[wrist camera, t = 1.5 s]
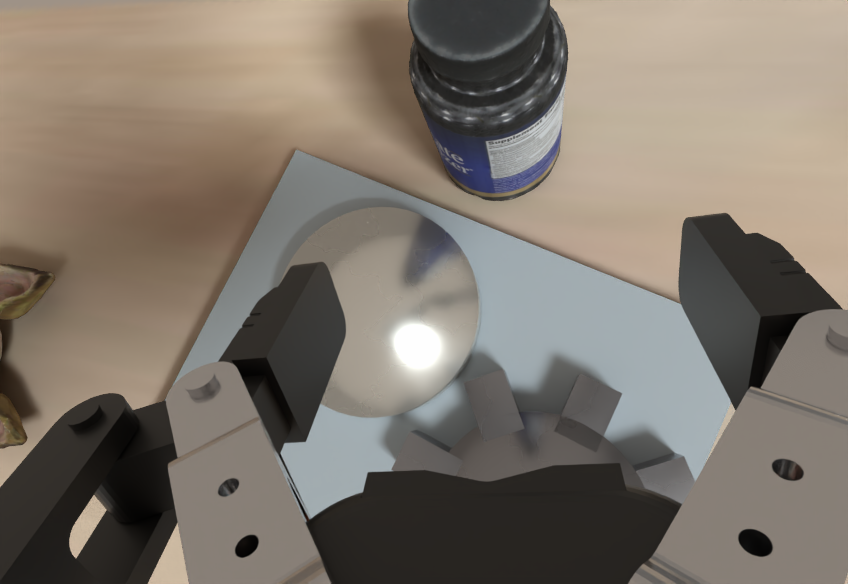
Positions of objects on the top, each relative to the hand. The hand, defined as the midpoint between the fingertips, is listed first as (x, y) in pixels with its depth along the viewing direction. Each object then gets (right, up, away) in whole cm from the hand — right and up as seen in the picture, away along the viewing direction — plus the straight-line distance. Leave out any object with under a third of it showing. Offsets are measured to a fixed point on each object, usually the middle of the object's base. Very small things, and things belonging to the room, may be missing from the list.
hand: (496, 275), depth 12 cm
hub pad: (-4, -1, +14) cm, 14 cm away
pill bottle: (+2, +7, +16) cm, 17 cm away
